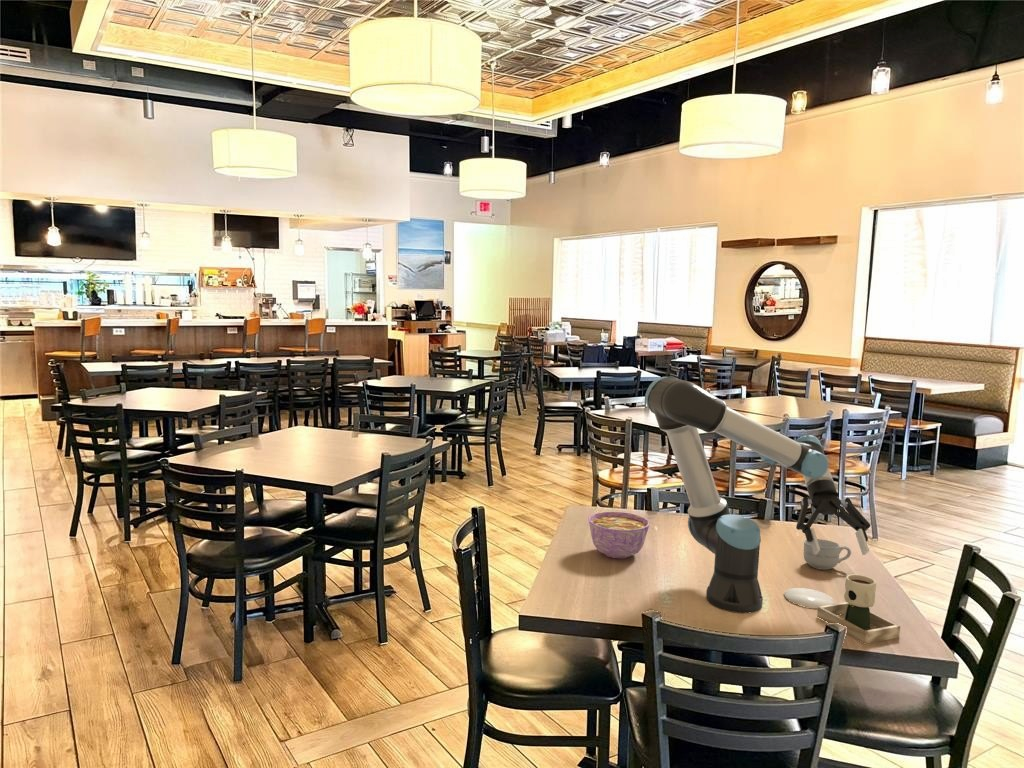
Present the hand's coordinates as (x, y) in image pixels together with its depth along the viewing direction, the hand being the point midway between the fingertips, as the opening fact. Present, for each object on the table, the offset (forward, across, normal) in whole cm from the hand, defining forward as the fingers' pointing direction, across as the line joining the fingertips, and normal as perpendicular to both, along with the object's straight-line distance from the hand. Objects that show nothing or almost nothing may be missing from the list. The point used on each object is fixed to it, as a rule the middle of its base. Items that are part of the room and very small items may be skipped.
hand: (841, 552), depth 193 cm
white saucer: (+7, +5, -16) cm, 18 cm away
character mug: (+19, 0, -4) cm, 20 cm away
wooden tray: (+19, 0, -4) cm, 19 cm away
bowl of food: (-17, +54, -40) cm, 69 cm away
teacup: (-11, -12, -34) cm, 37 cm away
